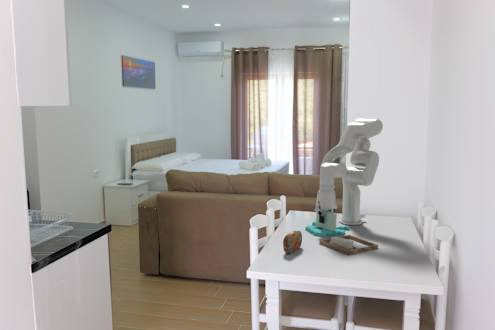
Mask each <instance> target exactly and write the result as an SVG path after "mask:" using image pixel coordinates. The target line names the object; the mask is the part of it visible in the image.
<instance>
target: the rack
mask: <svg viewBox="0 0 495 330" xmlns="http://www.w3.org/2000/svg"><path fill="white" fill-rule="evenodd" d="M338 237H339V238H344V239H349V240H352V241H356V242H358V243H361V244H364V245H367V246H363V247H359V248H357V247H354V246H353V250H350V251H347V250H344V249H341V248H339V247H336V246H334V245H331V244H330V241H331V238H332V237H330V238H325V239H321V240H318V241H319V243H318V245H319V244H320V245H322V246H325V247H326V248H329V249H332V250H335V251H336V252H339V253H341V254H343V255H347V256H349V255H355V254H358V253H364V252H366V251H370V250H375V249H378V248H379V244H377V243H374V242H370V241H368V240H366V239H362V238H359V237H356V236H353V235H350V234H346V235H345V234H344V235H339V236H338Z"/></svg>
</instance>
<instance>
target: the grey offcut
mask: <svg viewBox="0 0 495 330" xmlns="http://www.w3.org/2000/svg"><path fill="white" fill-rule="evenodd" d="M339 237H340V236H334V235H333V236H331V237H330V238H331V243H333V244H337V245H341V246H345V247H349V248H351V247H354V241H355V240H352V239H349V238H347V239H344V238H339Z"/></svg>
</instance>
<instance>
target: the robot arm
mask: <svg viewBox="0 0 495 330" xmlns="http://www.w3.org/2000/svg"><path fill="white" fill-rule="evenodd" d="M383 126H384V125H383V122H382V121H381V119H377V118H357V119H355V120H353V122H349V123H347V125H345V128H344V130H343V132H342V135H341V137H340V139H339V142H338V143H337V145H335V146H334V147H332V148H331V149H330V150H328V152H326V154H325V155H324V157H323V159H322V162H321V164H320V166H319V167H320V168H319V190H318V191H317V195H316V202H315V208H314V211H315V212H316V214H317V213H318V215H319V223H322V224H324V216H323V215H324V211H325V210H327V211H330V212H334V213H336V210H337V209H338V205H337V203H336V202H337V200H336V197H337V196H336V191H335V188H336V185H335V179H337V178H338V179H339V178H340V179H342V180H341V181H342V209H341V210H342V215H341V218H339V220H338V222H339V223H340V224H343V225H345V226H358V225H362V224H363V220H361V219H364V218H366V214H361V213H360V212H361V211H360V209H361V208H360V207H361V205H360V204H361V189H360V187H359V186H363V187H369V186H371V185H372V184H373V183H374V179H375V176H376V173H377V170H378V167H379V163H380V155H379V154H378V152H377V151H374V150H370V148H371V141H370V139H371V138H373V137H376V136H378V135H380V134H381V132H382V131H383ZM350 153H351V155H350V159H349V163H350V164H351V165H352V166H346V165H345V164H343V163H340V162H335V160H336V159H338V158H340V157H342V156H345V155H348V154H350ZM321 211H322V213H321Z"/></svg>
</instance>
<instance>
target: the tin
mask: <svg viewBox="0 0 495 330" xmlns="http://www.w3.org/2000/svg"><path fill="white" fill-rule="evenodd" d="M302 243H303V235H302V232H301V231H300V230H292V231H290V232H289V233H288V234H285V236H284V238H283V241H282V245H283V252H284V253H285V254H286V253H287V254H293V253H295V252H296V251H297V250H299V249H301V247H302Z"/></svg>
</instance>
